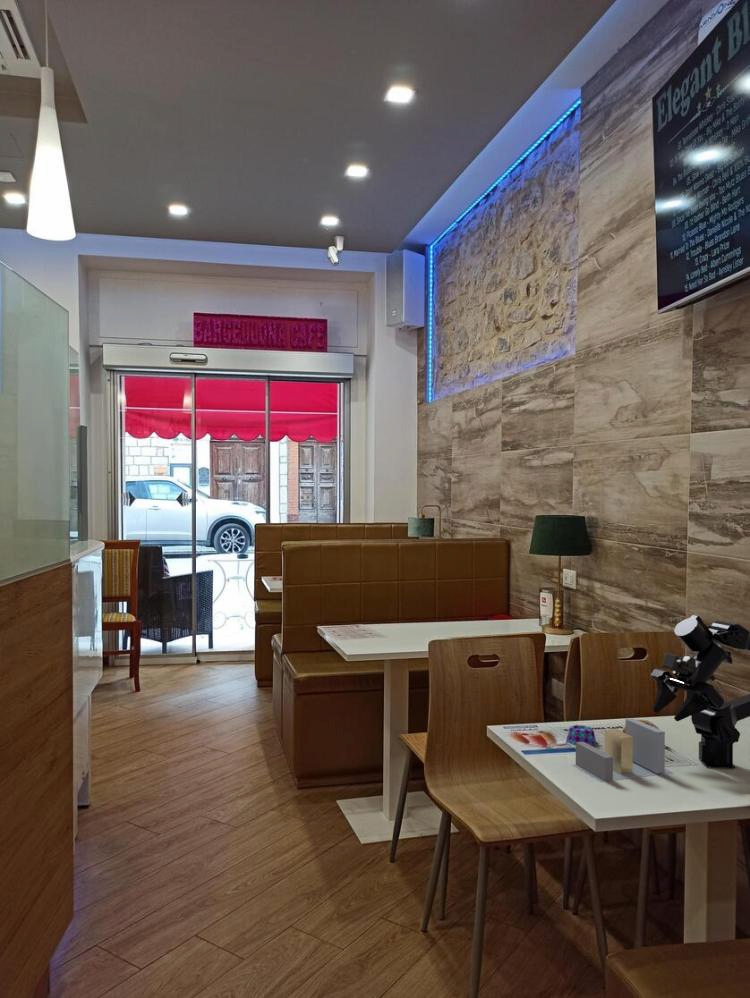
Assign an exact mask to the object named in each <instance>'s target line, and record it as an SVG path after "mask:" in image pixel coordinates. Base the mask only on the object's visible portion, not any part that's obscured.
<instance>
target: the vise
mask: <svg viewBox="0 0 750 998" xmlns="http://www.w3.org/2000/svg"><path fill="white" fill-rule="evenodd" d="M571 766H573V767H575V768H576V769H577V770H579V771H581V772H583V773H585V774H586V775H588V776H590V777H591V778H593V779H595V780H596V781H598V782H600V783H606V782H613V781H620V780H630V779H636V778H637V779H638V778H645V777H653V776H661V775H662V776H663V775H669V774H674V772H673V771H671V770H669V769H666V768H665V773H658V774H657V773H655V772H653V771H651V770H649V769H647V768H645V767H643V766H641V765H639V764H637V763H635V762H633V773H630V774H622V775H621V774H619V773H617V772H616V771H614V770H613V757H612V756H610V755H608V754H606V753H605V751H603V750H599V749H598V748H596V747H594V746H590V745H589V744H587V743H585V742H576V745H575V764H571Z"/></svg>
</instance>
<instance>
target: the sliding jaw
mask: <svg viewBox="0 0 750 998" xmlns="http://www.w3.org/2000/svg"><path fill="white" fill-rule="evenodd" d="M638 720H639V719H635V718H633V717H631V718H625V726H626V733H625V734H628V735H630V736H632V737H633V762H635V763H637V764H639V765H641V766H643V767H645V768H647V769H649V770H651V771H653V772H655V773H657V774H658V773H665V769H666V768H665V767H666V766H665V765H666V763H665V762H666V761H665V760H666V759H665V757H666V755H665V753H666V752H665V750H666V746H665V745H666V744H665V742H666V741H665V740H666V733H665V732H666V731H664V730H661V729H660V728H659V729H657V728H655V727H652V726H650V725H647V724H645V723H643V722H640V721H638Z"/></svg>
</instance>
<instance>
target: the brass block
mask: <svg viewBox="0 0 750 998" xmlns="http://www.w3.org/2000/svg"><path fill="white" fill-rule="evenodd" d="M604 753H606V754H608V755H610V756H612V757H613V770H614V771H616V772H617V773H619V774H621V775H622V774H630V773H633V737H632V736H630V735H628V734H625V733H623V731H622V730H621V731H620V730H618V729H616V728H615V729H606V730H605V729H604Z"/></svg>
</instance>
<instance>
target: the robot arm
mask: <svg viewBox="0 0 750 998" xmlns="http://www.w3.org/2000/svg"><path fill="white" fill-rule="evenodd" d="M674 634H675V636H677V637H678V639H679V640H680V641H681V642H682V643H683V645H685V647H686V648H687V649H688V650H689V651H690V652H693V653H694V655H693V656H692V657H691V656H688V655H685V656H684V657H680V656H678V655H674V654H672V653H671V654H670V653H665V655H664V657H663V661H662V663H661V667H663V668H667V669H669V670H671V671H672V674H671V673H670V671H668V670H664V669H661V668H654V669H653V671H652V672H651V673H650V677H651V678H652V679H653V681H654V682H655V683H656V685H657V694H656V697H655V699H654V704H653V707H652V711H653V712H654V713H655V714H657V713H659V712H660V711H662V710H663V709H664V708H665V707H667V706H668V705H669V704H670V703H671V702H673V701H675V700H676V699H677V698H678V696H677V695H676V693H677V692H678V691H679V690H680V691H684V692H686V697H685V699H684V701H683V703H682V704H681V706H680V707H679V709H678V710H677V711H676V713H675V715H674V717H673V719H674V720H675V722H679V721H682V720H684V719H687V718H689V717H690V719H691V723H692V724H693V727H694V729H695V732H696V733H695V734H698V735H700V738H701V739H700V740H699V742H698V760H699V761H700V762H701V763H702V764H703V765H704V766H705V767H706V768H714V769H715V768H716V769H736V768H737V767H736V765H735V764H734V758H733V757H734V744H735V743H738V742H739V739H740V737H741V732H740V731H739V730H738V729H737V728H736V725H737V723H738V722H739V721H742V720H744V719H747V718H749V717H750V693H748V694H746V695H743V696H740V697H736V698H735V699H731V700H729V701H725V698H724V696H722V694H721V693H720V691H719V690H718V689H717V688H716V687H715V686H714V685H713V684H711V683H708V682H709V681H711V682H714V681H715V680H716V677H715V675H714V674H715V673H716V671H717V670H718V669H719V667H720V666H721V665H722V664H723V663H726V664H730V665H732V664H733V658H732V653H731V651H728V650H725V649H724V647H728V648H732V649H737V650H743V651H745V652H748V653H750V630H748V629H747V628H745V627H744V626H743V625H741V624H739V623H735V622H734V623H733V622H728V621H723V620H715V621H714V622H712V624H710V625H707V624H706V623H705V622H704V621H703V619H702V618H701V616H699V615H695V614H692V615H691V616H690V617H688V618H685V619H683V620H681V621H680V622H678V623H677V624H676V626H675V627H674ZM675 677H676V678H675Z"/></svg>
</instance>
